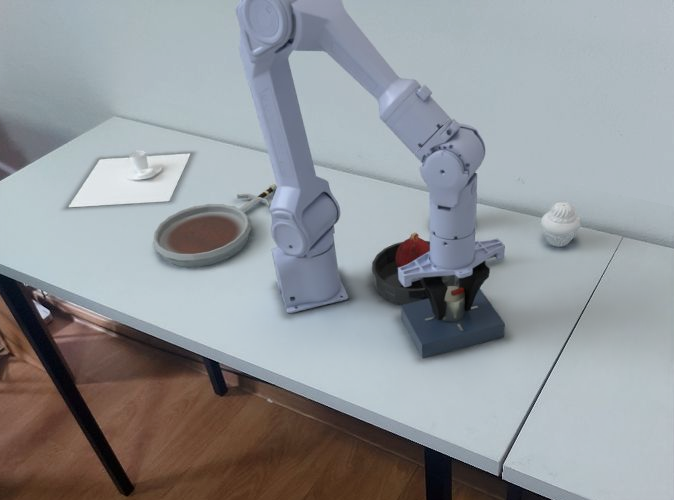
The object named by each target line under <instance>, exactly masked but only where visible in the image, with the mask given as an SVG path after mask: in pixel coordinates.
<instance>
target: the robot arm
mask: <svg viewBox="0 0 674 500" xmlns="http://www.w3.org/2000/svg"><path fill="white" fill-rule="evenodd" d="M234 11H235V14H236V19H237V22H238V25H239V30H240V32H239V44H238V46H239V47H238V51H239V56H240V59H241V60H240V61H241V64H242V67H243V71H244V74H245V77H246V80H247V84H248V87H249V92H250V95H251V98H252V102H253V105H254V109H255V113H256V116H257V119H258V124H259V127H260V131H261V134H262V136H263V137H262V138H263V141H264V144H265V148H266V152H267V155H268V158H269V162H270V166H271V169H272V173H273V176H274V179H275V183H276V186H277V189H276V192H274V195H273V197H272V200H271V204H270V209H269V213H270V217H271V224H270V234H271V237H272V240H273V241H274V243H275V244H276V247H273V248H271V256H272V260H273V265H274V270H275V275H276V280H277V282H276V287H277V291H278V294H279V295H281V298H282V302H283V304H284V307H285V310H286V313H288V314H293V313H297V312H301V311H305V310H309V309H314V308H317V307H321V306H322V307H323V306H326V305H331V304H334V303H337V302H343V301H346V300H348V299H349V295H348V292H347V290H346V289H345V286H344V284H343V282H342V280H341V277H340V274H339V267H338V258H337V251H336V243H335V236H334V234H335V233H336V231H335V225H336V224H337V223H338V222H339V220H340V217H341V207H340V205H339V202H338V200H337V199H336V197H335V196H334V195H333V193H332V190H331V188H330V183H329V180H327V179H325V178H323V177H319V176H317V173H316V169H315V165H314V161H313V156H312V153H311V148H310V144H309V140H308V136H307V131H306V127H305V123H304V118H303V115H302V111H301V107H300V103H299V99H298V95H297V90H296V85H295V82H294V78H293V74H292V70H291V65H290V60H289V57H290V56H291V54H292V52H293V51H294V52H324V53H326V54H327V55H328V56H329V57H331V59H333V60H334V61H335V62H336V63H337V65H339V66H340V67H341V68H342V69H343V70H344V71H345V72H346V73H347V74H349V75H350V76H351V77H352V78H353V79H354V80H355V81H356V82H357V83H358V84H359V85H360V86H361V87H362V88H363V89H364V90H365V91H367V93H369V94H370V95H371V96H372V97H373V98H374V99H375V100H376V101H377V103H378V117H379V119H380V120H381V121H382V122H383V124H385V126H386V127H387V128H388V129H389V130H390V131H391V132H392V133H393V134H394V135H395V136H396V137H397V138H398V139H399V140H400V141H401V143H402V144H403V145H404V146H405V147H406V148H407V149H408V150H409V151H410V152H411V153H412V154H413V155H414V156H415V157H416V158H417V159H418V161H419V162H420V163H421V165H420V166H419V172H420V176H421V179H422V180H423V183H425V185H426V186H427V188H428V190H429V195H428V201H429V202H428V203H429V208H428V209H429V211H428V213H429V241H430V251H429V252H427V253H426V254H424V255H422V256H421V257H419V258H417V259H416V260H414V261H412V262H411V263H409V264H407V265H405V266H402V267H399V268H398V278H399V281H400V282H401V284H402V285H403V286H404V287H408V286H411V285H412V282H414V281H417V280H420V281H421V283H422V285H423V287H424V288H425V290H426V293H427V295H428V297H429V300H430V303H431V307H432V311H433V314H434V315H435V316H436V318H437V319H438V320H442V319H443V318H444V300H445V295H446V292H447V289H448V287H447V286H446V285H445V284H444V283H443V281H442V277H441V276H447V275H456V276H457V277H458V284H459V285H458V287H459V288H461V287H462V288H463V289H464V292H465V310H466V311H470V310H471V307H472V304H473V301H474V299H475V296H476V294H477V292H478V290H479V288H480V289H481V287H482V285H483V284H484V283H485V282H486V280H488V278H489V277H490V273H491V272H490V271H491V269H490V268H489V267H488V265H487V264H486V261H487V260H489V259H493V258H495V259H497V260H500V259H503V258H505V253H506V245H505V243H503V242H502V240H501V239H499V238H494V239H489V240H478V241H476V229H477V228H476V227H477V226H476V225H477V207H478V206H477V204H478V202H477V201H478V173H477V170H479V168H480V167H481V165H482V164H483V161H484V159H485V156H486V145H485V142H484V140H483V139H484V138H482V136H481V135H480V133H479V131H478V129H477V128H475V127H474V126H472V125H469V124H466V123H461V122H458V121H457V120H456V119H455V118H451V117H450V116H449V115H448V113H446V111H445V110H444V109H443V108H442V107H441V105H440V104H439V103H438V102H437V101H436V100H435V99H434V98H433V97H432V96H431V95H432V94H433V91H432V90H431V89H430V88H429V87H428V86H427V85H426V84H423V85H421V84H420V83H419V81H417V80H416V79H415V78H402V77H399V75H398V74H397V73H396V71H394V69H393V68H392V67H391V66H390V64H389V63H388V62H387V61H386V59H385V58H384V56H382V54H381V53H380V52H379V51H378V49H377V48H376V47H375V45H374V44H373V43H372V42H371V41H370V39H369V37H367V35H366V34H365V33H364V32H363V30H362V29H361V28H360V27H359V25H358V24H357V23H356V22H355V20H354V19H353V18H352V17H351V15H349V13H348V12H347V10H346V8H345V6H344V3H343V0H239V2H238V4H237V5H236V6H235V8H234Z"/></svg>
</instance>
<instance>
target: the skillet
mask: <svg viewBox="0 0 674 500" xmlns="http://www.w3.org/2000/svg"><path fill="white" fill-rule="evenodd" d="M425 241H426V242H427V243H428V244H429V245H430V240H425ZM403 242H404V241H400V242H395V243H392V244H391V245H389V246H386V247H385V248H383V249H382V250H381V251H379V252H378V253H377V254H376V255H375V257H374V259H373V261H372V264H371V266H372V267H371V274H372V284H373V287H374V290H375V291H376V294H378V295H379V296H380V298H383V299H384V300H386V301H387V302H390V303H392V304H395V305H398V306H401V305H404V304H408V303H412V302H416V301H420V300H424V299H428V298H429V297H428V295H427V293H426V290H425V288H424V287H423V285H422V283H421V281H420V280H417V281H414V282H412V285H411V286H408V287H404V286H403V285H402V284H401V282H400V281H399V278H398V268H397V265H396V261H395V257H396V253H397V249H398V247H399V246H400V245H401V244H402V243H403ZM441 277H442V281H443V283H444V284H445V285H446V286H456V287H457V285H458V282H459V278H458V277H457V276H456V275H447V276H441Z"/></svg>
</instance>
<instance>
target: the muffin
mask: <svg viewBox="0 0 674 500" xmlns="http://www.w3.org/2000/svg"><path fill="white" fill-rule="evenodd" d="M540 223H541V227H542V228H541V229H542V232H543V234H544V236H545V238H546V240H547V242H548V244H549V245H551V246H553V247H557V248H558V247H562V248H563V247H565V246H567V245H568V244H569V243H570V242H571V241H572V240H573V238H574V237H576V235H577V234H578V233H579V232H578V231H579V230H580V229H581V225H582V221H581V218H580V217H579V216H578V215H577V213H576V211H575V207H574V206H573V204H571V203H569V202H565V201H559V202H556V203H555V204H553V205H552V206H551V209H550V210H549V211H547V212H545V214H543V216H542V217H541V221H540Z"/></svg>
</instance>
